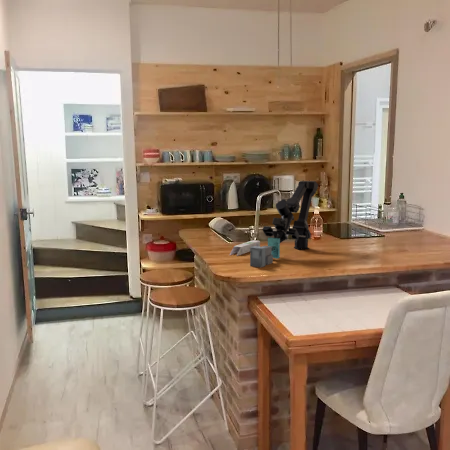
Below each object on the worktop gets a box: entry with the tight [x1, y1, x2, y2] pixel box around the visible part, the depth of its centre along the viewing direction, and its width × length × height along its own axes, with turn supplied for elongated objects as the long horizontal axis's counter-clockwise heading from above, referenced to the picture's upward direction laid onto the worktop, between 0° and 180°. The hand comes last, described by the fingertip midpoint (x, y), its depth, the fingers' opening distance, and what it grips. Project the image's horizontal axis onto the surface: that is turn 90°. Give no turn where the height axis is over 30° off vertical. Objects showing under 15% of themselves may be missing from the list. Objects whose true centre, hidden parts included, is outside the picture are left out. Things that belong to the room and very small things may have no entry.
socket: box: [249, 246, 266, 268], centre depth 238 cm, size 4×6×9 cm, turn 56°
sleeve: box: [261, 245, 274, 266], centre depth 244 cm, size 6×6×8 cm
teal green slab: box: [267, 236, 281, 259], centre depth 246 cm, size 13×6×10 cm, turn 146°
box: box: [229, 239, 261, 257], centre depth 271 cm, size 4×4×28 cm
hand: (274, 245), depth 252 cm, fingers closed
